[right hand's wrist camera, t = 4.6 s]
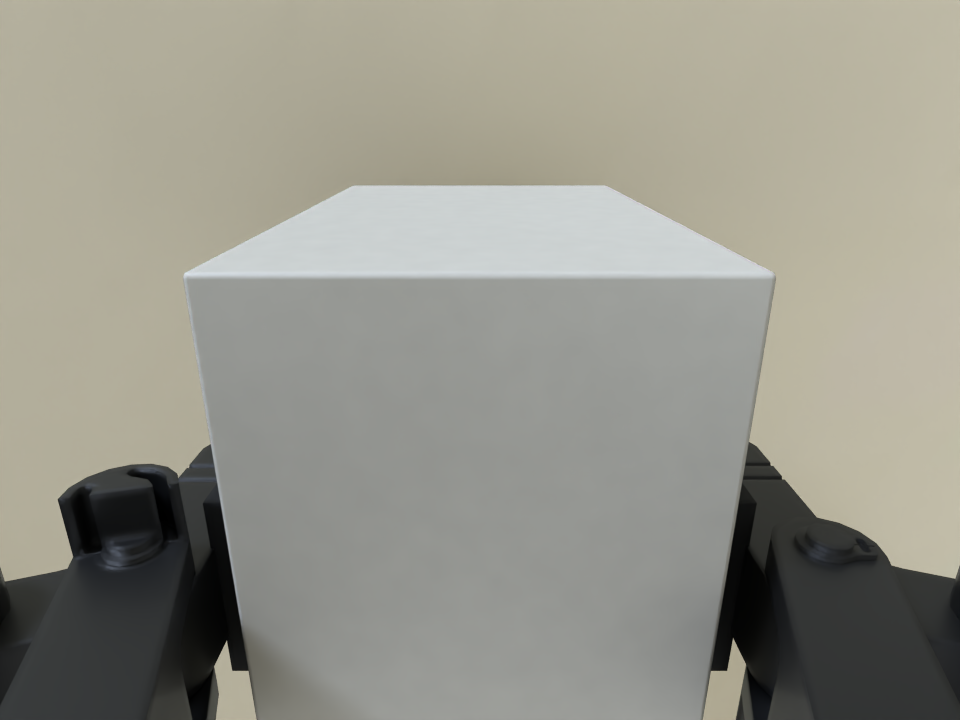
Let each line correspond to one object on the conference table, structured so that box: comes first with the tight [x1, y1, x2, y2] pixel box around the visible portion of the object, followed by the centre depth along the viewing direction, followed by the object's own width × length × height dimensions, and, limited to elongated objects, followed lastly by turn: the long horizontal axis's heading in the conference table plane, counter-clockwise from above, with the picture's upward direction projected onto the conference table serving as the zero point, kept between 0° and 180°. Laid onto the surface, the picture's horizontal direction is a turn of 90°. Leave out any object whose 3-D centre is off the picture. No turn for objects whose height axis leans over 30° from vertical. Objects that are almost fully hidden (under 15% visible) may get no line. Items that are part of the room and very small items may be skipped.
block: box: [183, 186, 776, 720], centre depth 11 cm, size 9×5×8 cm, turn 0°
